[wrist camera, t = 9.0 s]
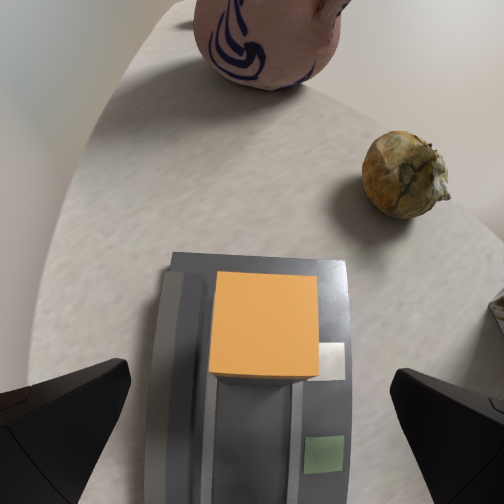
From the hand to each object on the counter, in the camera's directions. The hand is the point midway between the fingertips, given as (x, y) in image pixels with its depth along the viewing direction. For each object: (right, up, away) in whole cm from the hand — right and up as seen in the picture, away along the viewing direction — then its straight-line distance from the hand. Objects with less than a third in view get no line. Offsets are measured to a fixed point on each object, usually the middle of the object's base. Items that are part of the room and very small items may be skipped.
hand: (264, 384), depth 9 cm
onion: (+12, +9, +17) cm, 23 cm away
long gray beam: (-5, -5, +7) cm, 10 cm away
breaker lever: (0, -2, +8) cm, 8 cm away
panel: (0, -6, +8) cm, 10 cm away
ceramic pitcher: (+2, +27, +26) cm, 37 cm away
